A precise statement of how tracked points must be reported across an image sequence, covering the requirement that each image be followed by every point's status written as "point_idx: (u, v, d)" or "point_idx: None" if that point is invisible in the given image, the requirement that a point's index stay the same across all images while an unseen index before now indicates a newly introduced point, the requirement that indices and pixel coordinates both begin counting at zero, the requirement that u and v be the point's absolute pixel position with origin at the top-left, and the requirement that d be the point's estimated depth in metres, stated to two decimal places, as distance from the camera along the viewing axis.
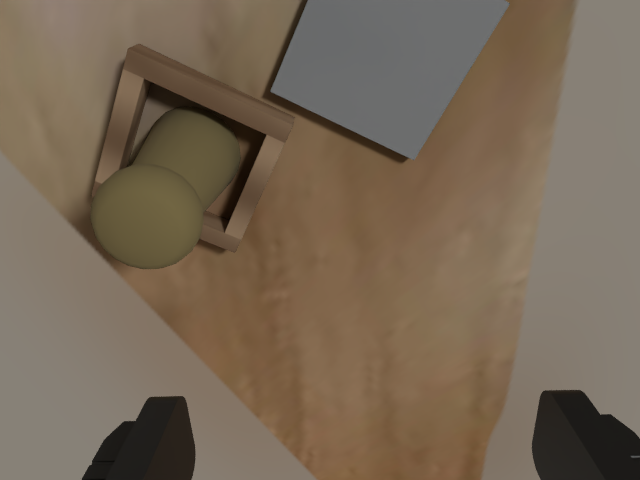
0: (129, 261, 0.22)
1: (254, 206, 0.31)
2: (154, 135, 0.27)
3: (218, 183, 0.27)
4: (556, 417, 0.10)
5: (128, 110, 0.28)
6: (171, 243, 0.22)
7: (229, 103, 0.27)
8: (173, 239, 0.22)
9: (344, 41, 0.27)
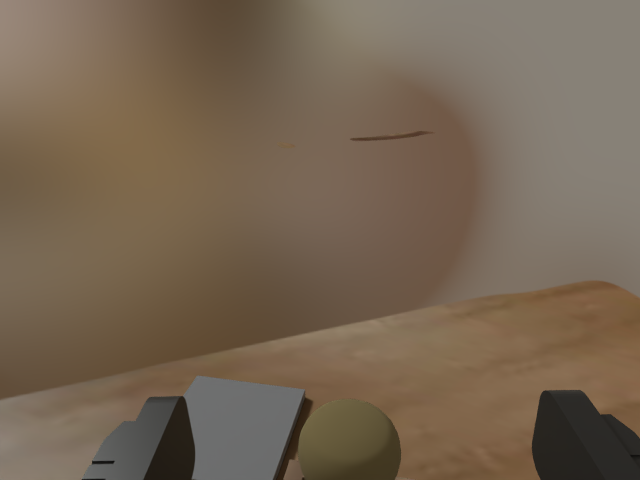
0: (384, 430, 0.23)
1: None
2: None
3: None
4: (556, 417, 0.10)
5: None
6: (350, 403, 0.25)
7: None
8: (346, 402, 0.25)
9: (223, 449, 0.34)
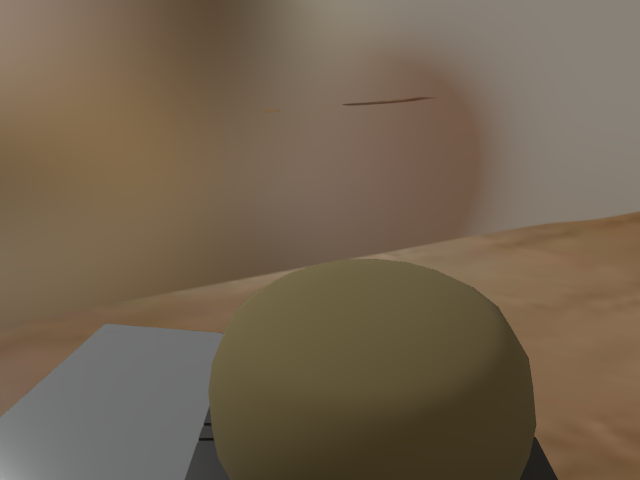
0: (482, 313, 0.07)
1: None
2: None
3: None
4: None
5: None
6: (366, 261, 0.09)
7: None
8: (354, 261, 0.09)
9: (119, 434, 0.18)
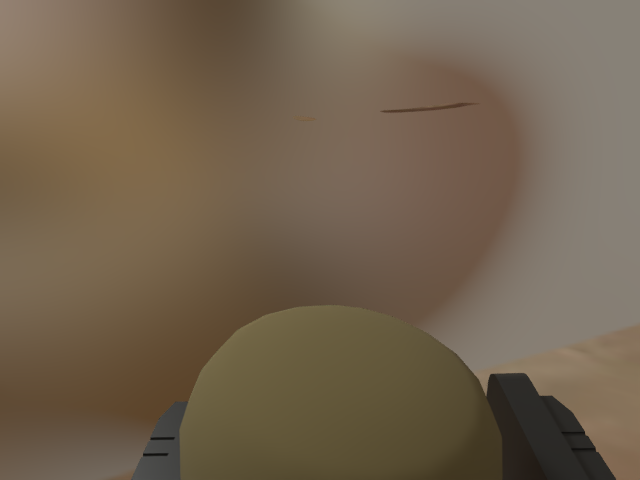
0: (464, 388, 0.07)
1: None
2: None
3: None
4: (500, 398, 0.10)
5: None
6: (354, 311, 0.09)
7: None
8: (342, 309, 0.09)
9: None
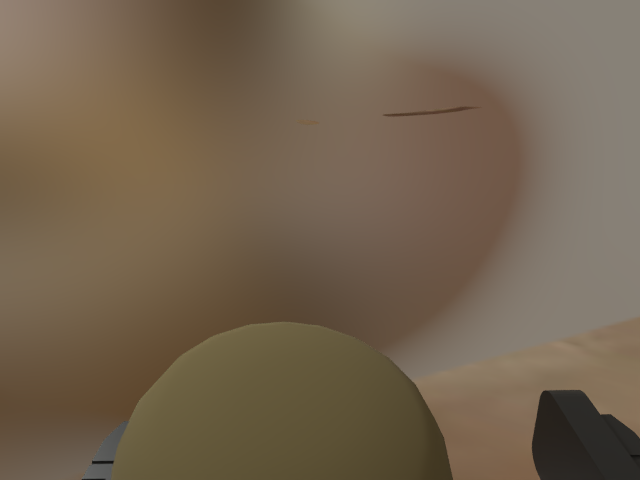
0: (415, 438, 0.07)
1: None
2: None
3: None
4: (556, 417, 0.10)
5: None
6: (309, 334, 0.08)
7: None
8: (295, 331, 0.08)
9: None
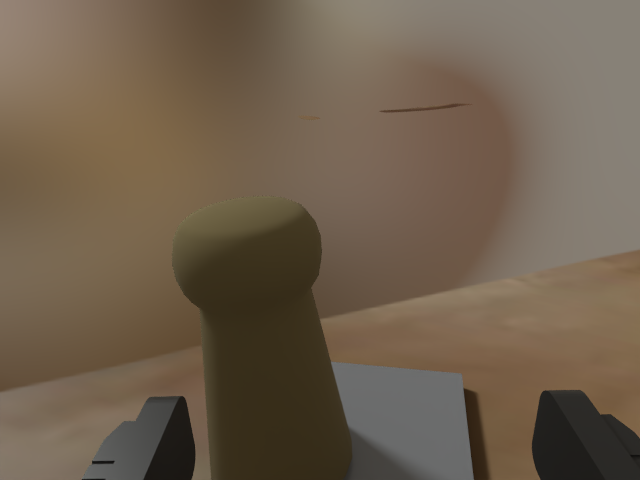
0: (291, 209, 0.16)
1: None
2: (213, 416, 0.17)
3: None
4: (556, 417, 0.10)
5: None
6: None
7: None
8: None
9: None
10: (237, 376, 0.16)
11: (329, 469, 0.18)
